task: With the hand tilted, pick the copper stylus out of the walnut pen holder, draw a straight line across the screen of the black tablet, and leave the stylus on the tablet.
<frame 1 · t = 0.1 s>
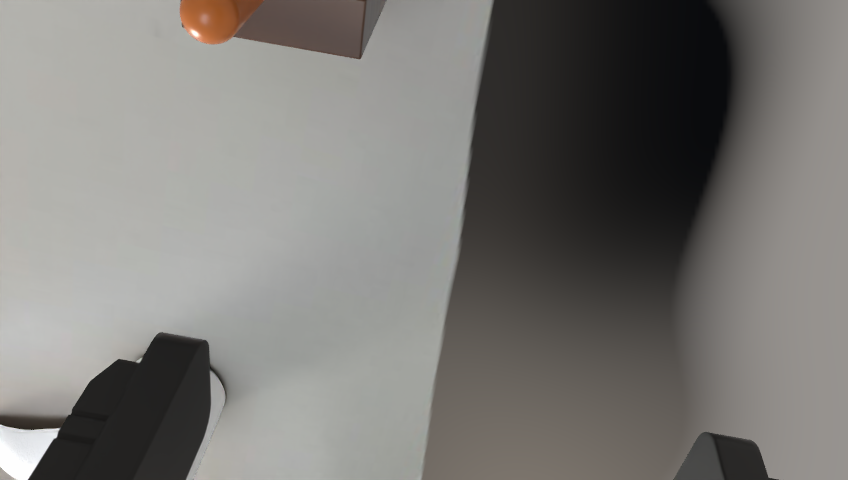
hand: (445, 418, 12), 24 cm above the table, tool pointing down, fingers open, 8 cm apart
computer mouse: (66, 443, 54), on the table
can: (180, 381, 49), on the table
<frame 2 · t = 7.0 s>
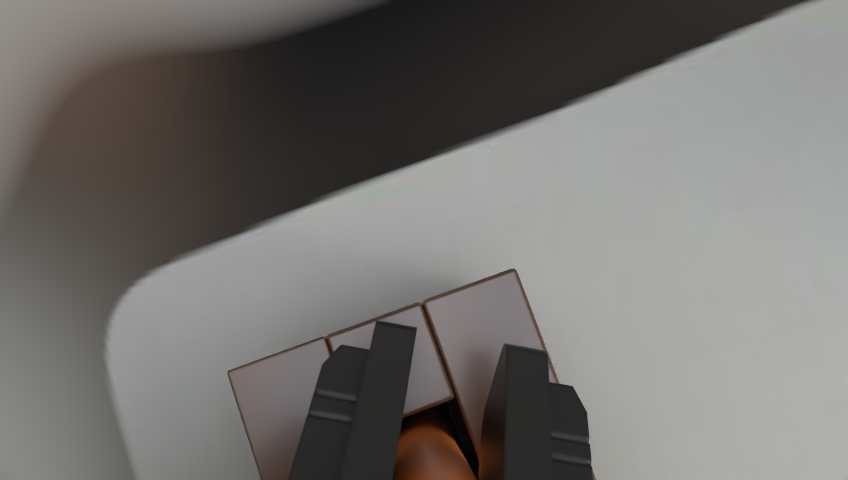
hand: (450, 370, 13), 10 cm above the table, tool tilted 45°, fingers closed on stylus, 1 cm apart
pen holder: (418, 430, 22), on the table
stylus: (425, 467, 15), in the pen holder, touching gripper
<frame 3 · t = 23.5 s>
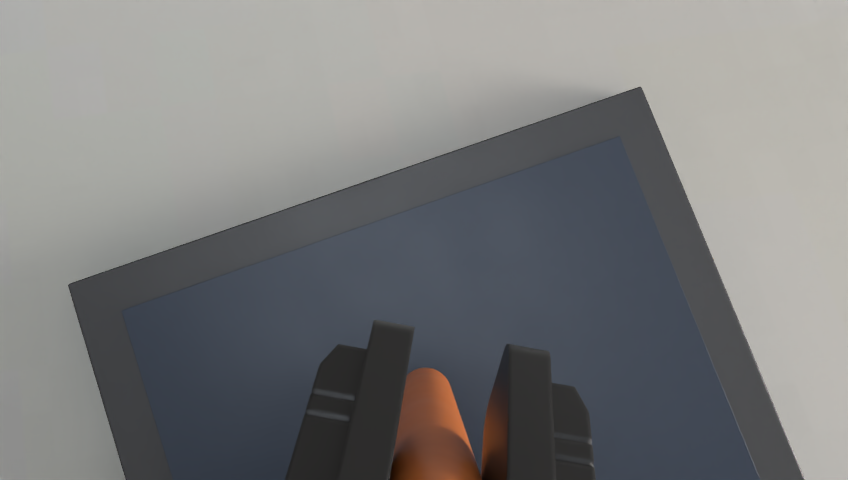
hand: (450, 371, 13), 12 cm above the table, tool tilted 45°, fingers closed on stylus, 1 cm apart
tablet: (455, 441, 24), on the table
stylus: (429, 445, 15), point 9 cm above the table, tilted 5°, touching gripper
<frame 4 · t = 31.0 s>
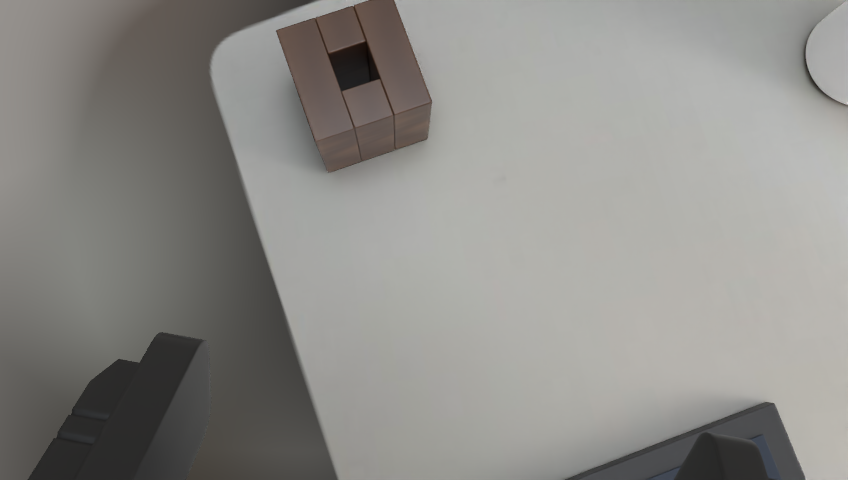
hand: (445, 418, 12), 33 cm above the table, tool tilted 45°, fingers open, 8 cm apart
pen holder: (361, 107, 47), on the table
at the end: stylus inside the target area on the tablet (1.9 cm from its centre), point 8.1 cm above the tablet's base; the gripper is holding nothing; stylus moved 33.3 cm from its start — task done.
